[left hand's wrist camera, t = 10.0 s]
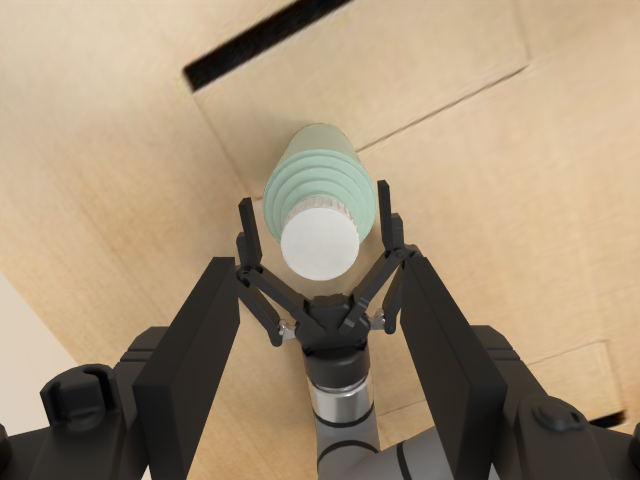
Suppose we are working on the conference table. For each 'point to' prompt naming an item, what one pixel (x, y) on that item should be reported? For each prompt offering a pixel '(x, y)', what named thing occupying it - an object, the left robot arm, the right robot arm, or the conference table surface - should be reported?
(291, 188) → the bottle
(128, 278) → the conference table surface
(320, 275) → the cap
